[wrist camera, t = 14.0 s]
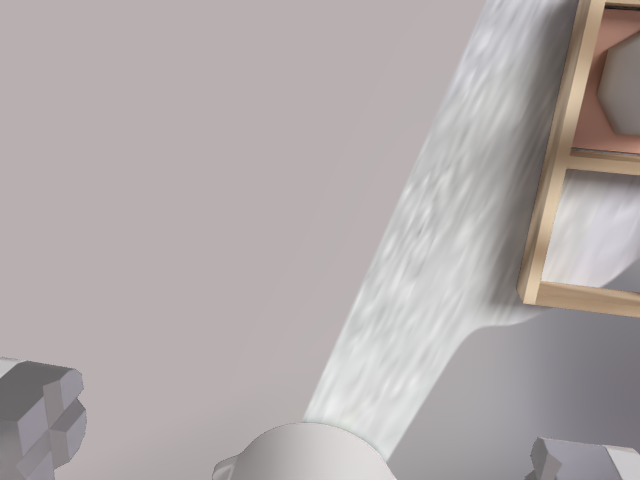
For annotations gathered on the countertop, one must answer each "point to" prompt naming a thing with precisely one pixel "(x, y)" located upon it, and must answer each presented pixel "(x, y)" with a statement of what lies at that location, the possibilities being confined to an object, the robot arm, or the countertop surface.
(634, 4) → the oak caddy
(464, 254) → the countertop surface
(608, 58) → the flask
